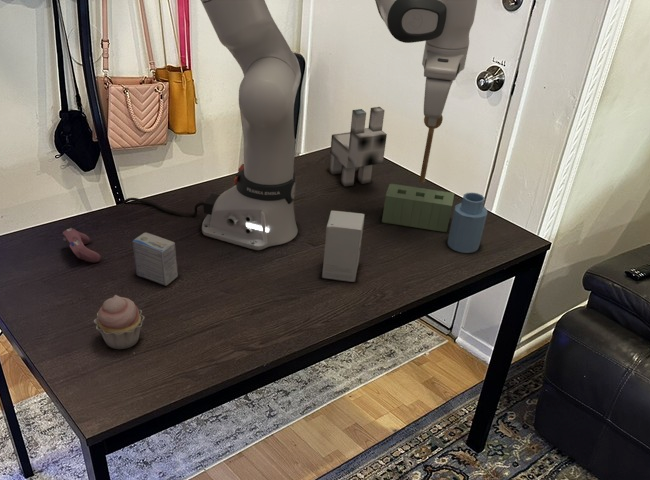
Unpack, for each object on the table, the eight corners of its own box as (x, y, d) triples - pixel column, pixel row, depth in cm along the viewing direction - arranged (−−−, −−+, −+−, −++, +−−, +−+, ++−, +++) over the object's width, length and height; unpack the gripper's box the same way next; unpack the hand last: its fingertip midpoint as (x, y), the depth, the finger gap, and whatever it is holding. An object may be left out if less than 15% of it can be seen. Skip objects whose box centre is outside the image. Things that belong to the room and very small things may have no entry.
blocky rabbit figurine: (349, 163, 195) (356, 89, 182) (379, 190, 183) (389, 114, 170) (325, 166, 193) (330, 92, 180) (353, 194, 181) (361, 117, 168)
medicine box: (178, 277, 150) (175, 241, 144) (165, 287, 147) (162, 251, 141) (149, 266, 153) (145, 231, 147) (136, 275, 150) (131, 240, 144)
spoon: (413, 181, 165) (425, 110, 154) (413, 179, 166) (426, 108, 155) (430, 184, 164) (443, 112, 153) (430, 181, 165) (444, 110, 154)
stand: (381, 222, 170) (385, 195, 166) (385, 209, 175) (389, 183, 171) (446, 232, 168) (452, 205, 163) (449, 219, 172) (454, 192, 168)
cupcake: (146, 322, 138) (141, 279, 131) (147, 352, 131) (142, 309, 124) (97, 326, 136) (90, 282, 130) (96, 356, 129) (88, 312, 123)
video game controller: (74, 250, 160) (55, 229, 154) (90, 239, 160) (72, 217, 154) (86, 272, 153) (67, 250, 148) (103, 260, 153) (84, 238, 148)
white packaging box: (355, 283, 150) (361, 230, 142) (321, 278, 151) (325, 225, 143) (359, 264, 156) (365, 213, 147) (326, 260, 157) (330, 208, 148)
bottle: (446, 250, 161) (456, 202, 154) (448, 234, 167) (458, 187, 159) (477, 255, 160) (489, 207, 152) (479, 239, 165) (491, 192, 157)
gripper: (434, 42, 155) (423, 105, 164) (423, 70, 140) (412, 138, 149) (463, 45, 154) (450, 108, 163) (455, 74, 139) (442, 142, 148)
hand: (432, 123), depth 156 cm, fingers closed on spoon, 1 cm apart
